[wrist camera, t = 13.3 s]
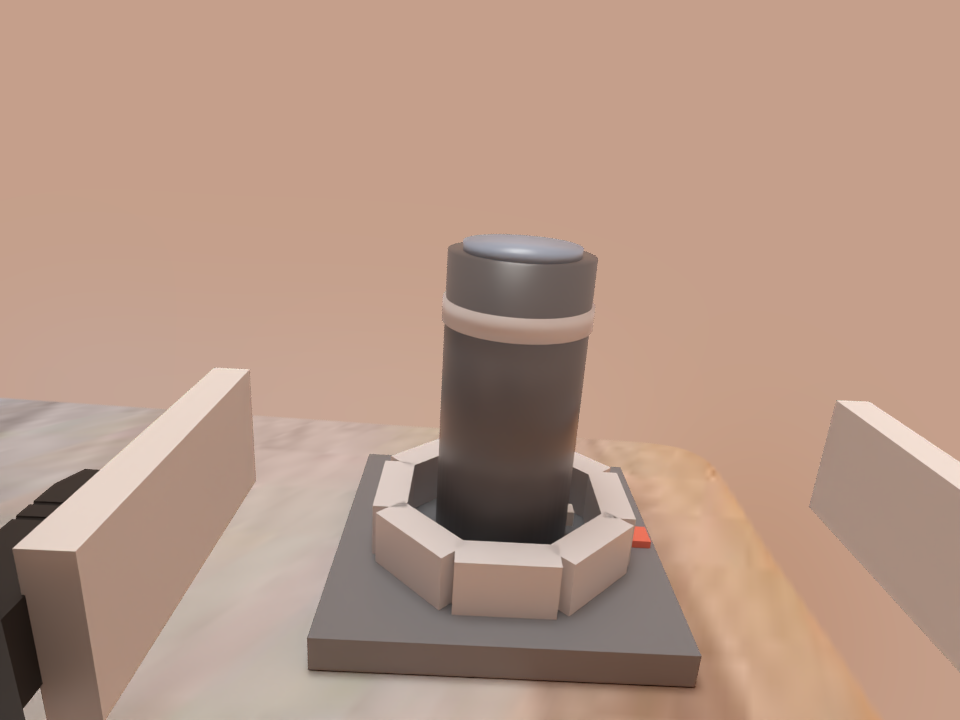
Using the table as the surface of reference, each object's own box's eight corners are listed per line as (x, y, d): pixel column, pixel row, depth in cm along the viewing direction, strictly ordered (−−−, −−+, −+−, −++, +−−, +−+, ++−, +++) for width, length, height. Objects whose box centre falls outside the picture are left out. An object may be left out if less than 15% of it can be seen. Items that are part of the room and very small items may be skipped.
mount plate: (308, 669, 20) (305, 582, 19) (369, 476, 31) (369, 415, 30) (694, 686, 20) (712, 602, 19) (616, 489, 32) (625, 429, 31)
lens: (428, 573, 23) (442, 252, 19) (435, 496, 28) (447, 228, 24) (580, 580, 23) (622, 262, 19) (560, 501, 28) (591, 237, 24)
